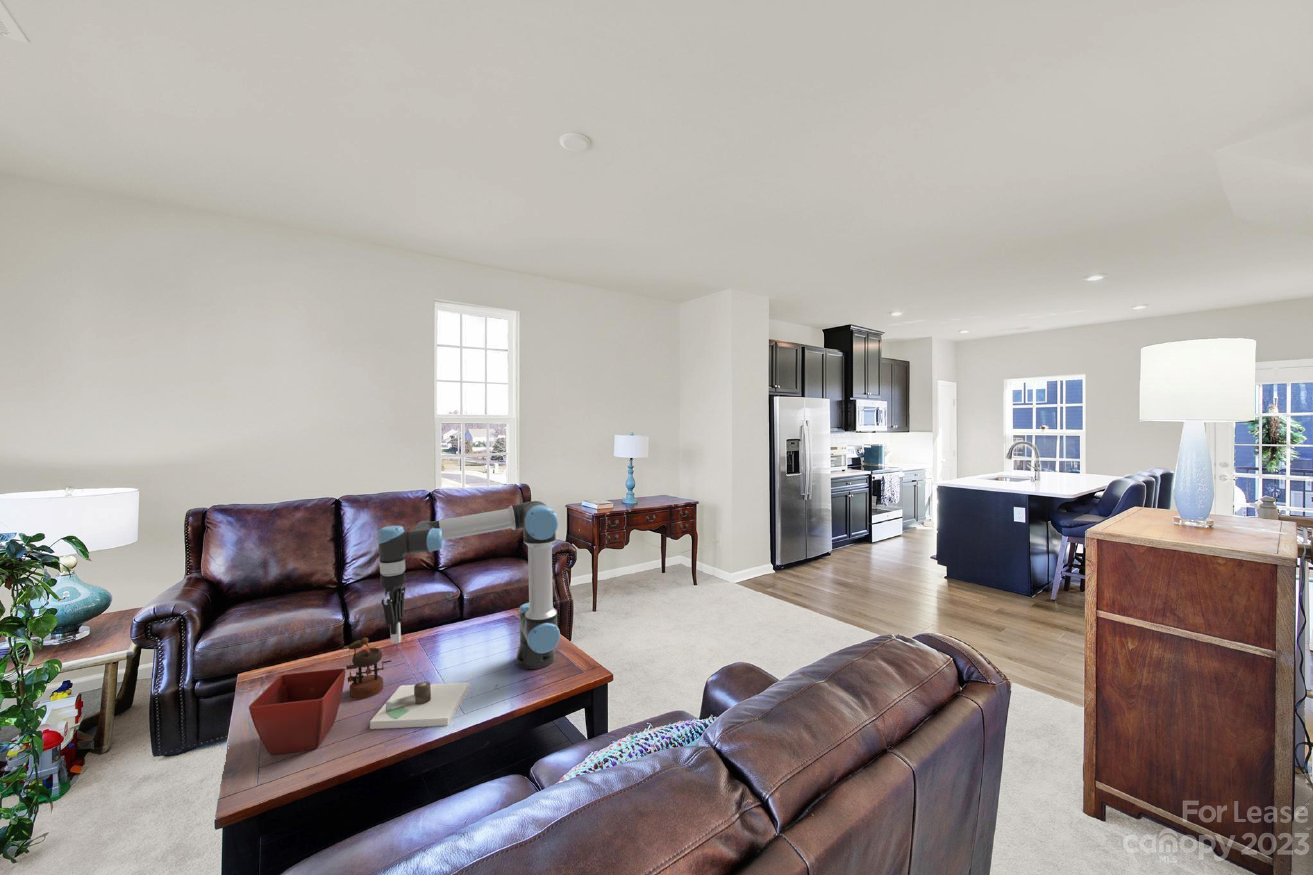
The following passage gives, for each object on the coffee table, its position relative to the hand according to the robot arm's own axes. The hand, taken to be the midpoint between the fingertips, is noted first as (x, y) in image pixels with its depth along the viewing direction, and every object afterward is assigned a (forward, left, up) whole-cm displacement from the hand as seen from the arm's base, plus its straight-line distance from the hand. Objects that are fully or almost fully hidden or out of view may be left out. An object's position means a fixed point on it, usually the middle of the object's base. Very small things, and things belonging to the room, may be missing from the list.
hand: (396, 642), depth 175 cm
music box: (+15, -12, -23) cm, 30 cm away
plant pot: (+21, +16, -23) cm, 35 cm away
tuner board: (-9, +1, -22) cm, 24 cm away
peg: (-5, +4, -20) cm, 21 cm away
